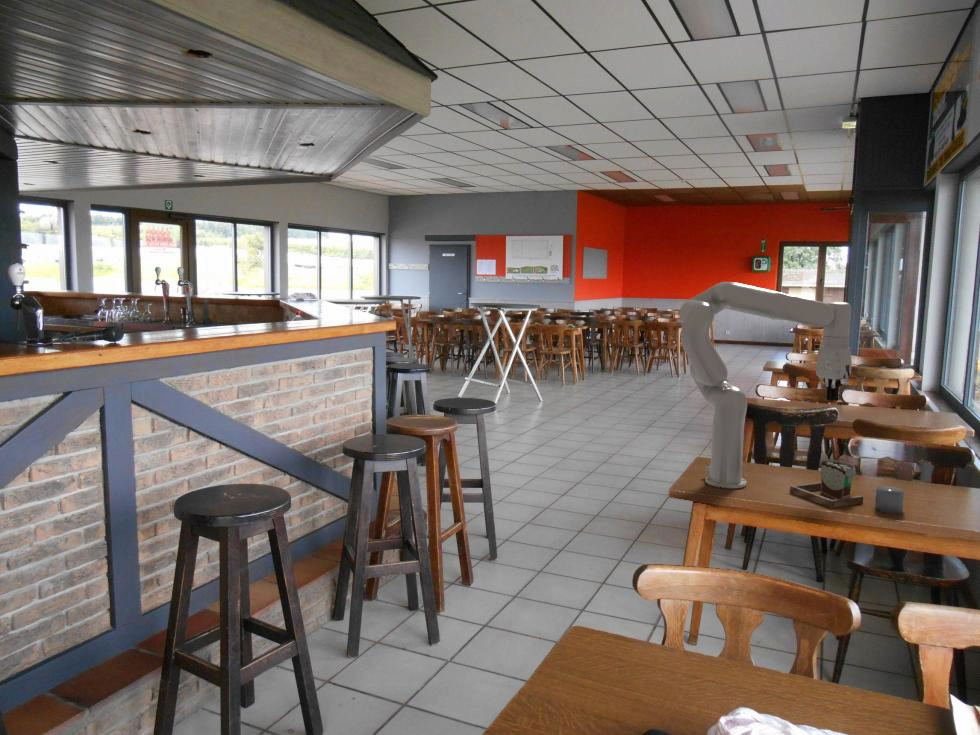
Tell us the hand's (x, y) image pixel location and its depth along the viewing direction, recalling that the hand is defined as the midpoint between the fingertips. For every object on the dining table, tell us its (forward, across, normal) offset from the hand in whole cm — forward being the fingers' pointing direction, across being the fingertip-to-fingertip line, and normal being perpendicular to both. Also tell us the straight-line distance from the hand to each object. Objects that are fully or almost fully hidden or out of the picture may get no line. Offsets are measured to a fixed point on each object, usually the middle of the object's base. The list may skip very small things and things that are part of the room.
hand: (832, 400), depth 229 cm
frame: (+27, +11, -12) cm, 32 cm away
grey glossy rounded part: (+27, +26, -4) cm, 38 cm away
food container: (+27, +11, -6) cm, 30 cm away
